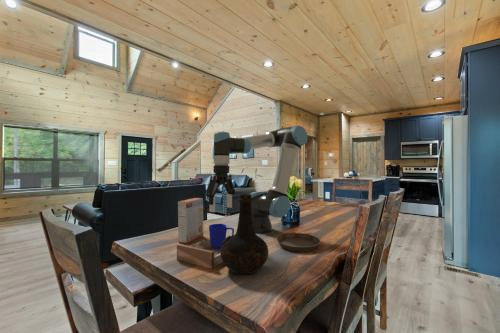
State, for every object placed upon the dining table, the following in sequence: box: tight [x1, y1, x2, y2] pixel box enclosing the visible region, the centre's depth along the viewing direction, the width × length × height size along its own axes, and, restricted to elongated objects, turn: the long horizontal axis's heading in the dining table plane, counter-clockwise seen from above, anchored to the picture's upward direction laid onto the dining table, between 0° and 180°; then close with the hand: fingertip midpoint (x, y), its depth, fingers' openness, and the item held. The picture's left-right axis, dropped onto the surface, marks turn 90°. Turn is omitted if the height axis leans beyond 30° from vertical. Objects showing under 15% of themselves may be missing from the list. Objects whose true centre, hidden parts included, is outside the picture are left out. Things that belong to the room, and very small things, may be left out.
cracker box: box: [177, 197, 204, 244], centre depth 125 cm, size 14×6×21 cm, turn 155°
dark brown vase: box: [220, 193, 269, 275], centre depth 89 cm, size 18×18×28 cm
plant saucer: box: [276, 232, 321, 252], centre depth 116 cm, size 21×21×3 cm
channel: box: [176, 239, 224, 269], centre depth 101 cm, size 17×18×6 cm
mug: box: [208, 223, 235, 249], centre depth 113 cm, size 8×12×10 cm
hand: (221, 209), depth 113 cm, fingers open, 13 cm apart
